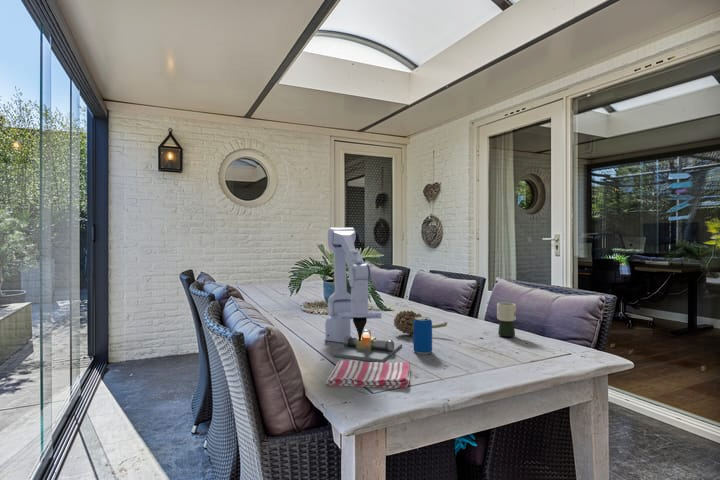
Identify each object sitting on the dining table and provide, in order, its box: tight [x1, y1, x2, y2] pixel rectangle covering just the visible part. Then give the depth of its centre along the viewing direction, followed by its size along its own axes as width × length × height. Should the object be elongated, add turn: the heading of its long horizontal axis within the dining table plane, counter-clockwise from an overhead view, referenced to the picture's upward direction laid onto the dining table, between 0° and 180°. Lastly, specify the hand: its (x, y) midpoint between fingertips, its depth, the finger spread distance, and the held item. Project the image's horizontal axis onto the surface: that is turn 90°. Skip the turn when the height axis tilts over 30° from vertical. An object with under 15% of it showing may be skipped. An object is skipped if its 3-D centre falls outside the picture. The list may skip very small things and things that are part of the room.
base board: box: [332, 342, 403, 363], centre depth 147 cm, size 18×20×1 cm
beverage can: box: [412, 316, 433, 355], centre depth 145 cm, size 6×6×12 cm
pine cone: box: [393, 310, 449, 336], centre depth 168 cm, size 22×10×10 cm, turn 81°
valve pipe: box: [343, 335, 395, 352], centre depth 147 cm, size 18×5×4 cm, turn 66°
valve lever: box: [362, 328, 372, 345], centre depth 143 cm, size 12×3×2 cm, turn 178°
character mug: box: [496, 302, 517, 338], centre depth 165 cm, size 11×7×13 cm, turn 177°
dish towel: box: [325, 360, 411, 390], centre depth 122 cm, size 17×23×4 cm
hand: (359, 340), depth 139 cm, fingers closed
